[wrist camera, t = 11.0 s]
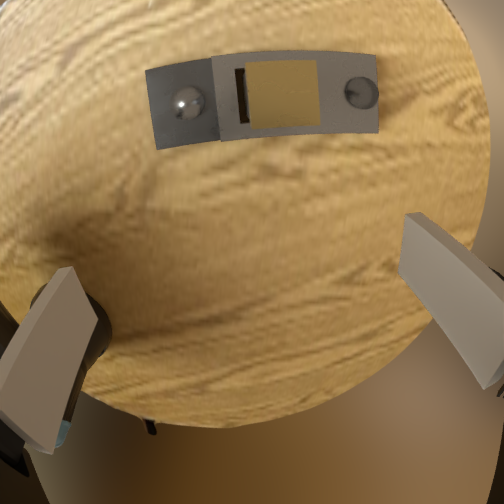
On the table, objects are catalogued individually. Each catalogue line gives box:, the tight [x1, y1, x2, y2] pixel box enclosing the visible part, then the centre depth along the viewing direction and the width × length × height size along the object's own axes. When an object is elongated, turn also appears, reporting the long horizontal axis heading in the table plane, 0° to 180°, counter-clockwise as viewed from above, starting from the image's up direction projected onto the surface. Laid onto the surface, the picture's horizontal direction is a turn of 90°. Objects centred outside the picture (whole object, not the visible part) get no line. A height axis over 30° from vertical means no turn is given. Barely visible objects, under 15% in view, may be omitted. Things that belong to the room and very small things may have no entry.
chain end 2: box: [211, 51, 379, 142], centre depth 27 cm, size 17×9×3 cm, turn 95°
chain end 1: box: [145, 58, 250, 150], centre depth 28 cm, size 16×9×2 cm, turn 95°
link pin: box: [242, 60, 320, 129], centre depth 23 cm, size 5×5×13 cm
